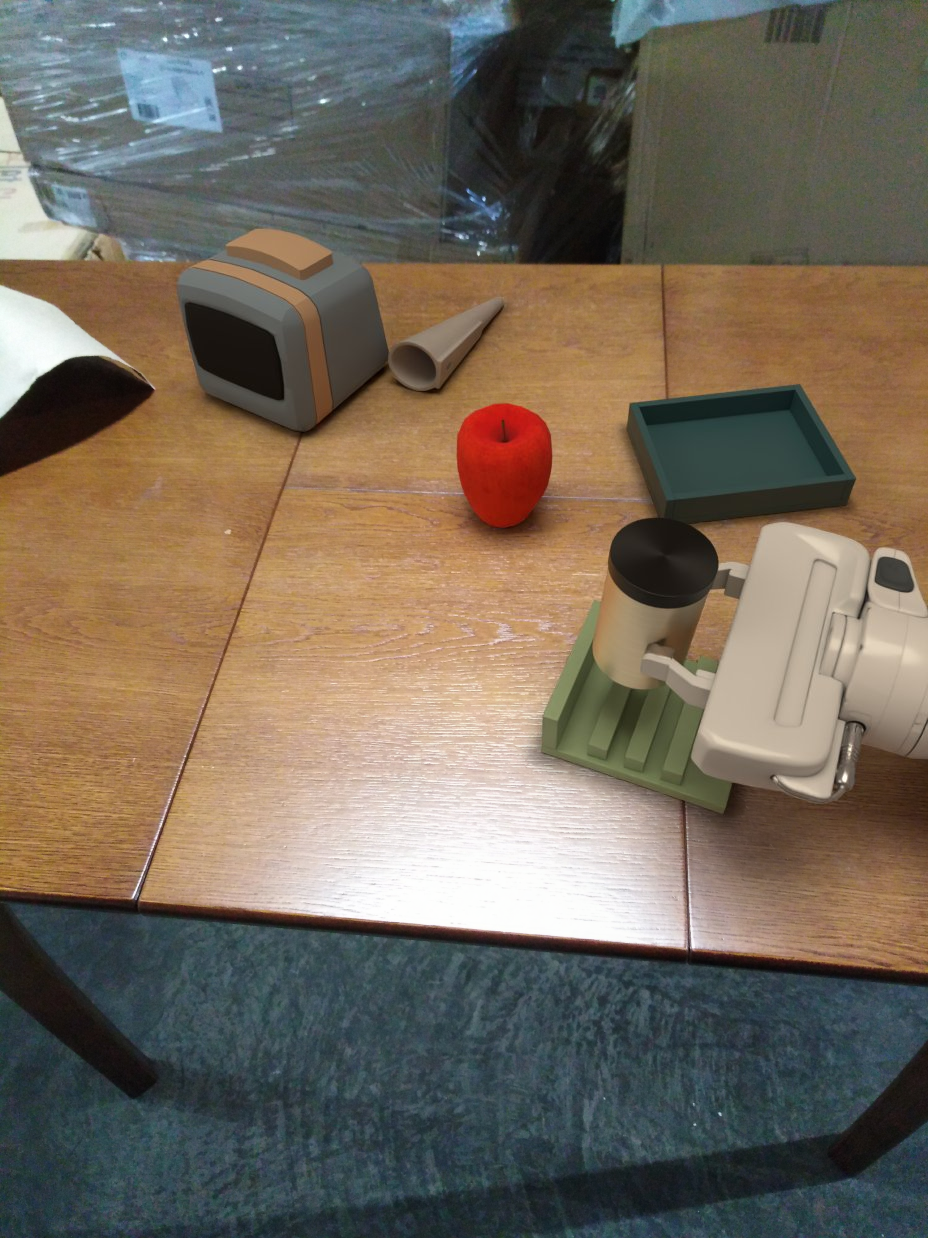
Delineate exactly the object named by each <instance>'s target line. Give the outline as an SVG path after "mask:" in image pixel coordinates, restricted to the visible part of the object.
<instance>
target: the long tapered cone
mask: <svg viewBox="0 0 928 1238" xmlns="http://www.w3.org/2000/svg"><path fill="white" fill-rule="evenodd" d="M504 303H505V301H504V298H503V297H501V296H496V297H493V298H490V299H488V300H486V301H484V302H482V303H480V304H477V305H476V306H473V307H471V308H469V309H467V310H466V309H465V310H464V311H462V312H460V313H458V314H456V315H453V316H452V317H450V318H447V319H445V320H443V321H441V322H439V323H437V324H435V325H433V326H430V327H429V328H426V329H424V330H422V331H419V332H418V333H415V334H413V335H411V336H409V337H406V338H405V339H403V340H401V341H399V342H396V343H395V344H393V345H392V346H391V347H390V349H389V353H388V361H387V364H388V368H389V370H390V372H391V374H392V376H393V378H395V379H396V380H397V381H398V382H399V383H400V384H402V385H403V386H404V387H406V388H407V389H410V390H413V391H417V392H425V391H430V390H432V389H434V388H435V389H437V390H438V389H441V387H442V385H443V384H444V383H445V382H446V380H447V379H448V378H449V377H450V376H451V374H452V373H453V372H454V370H455V369H456V368H457V366H458V365H459V364H460V363H461V362H462V360H463V359H464V358H465V357H466V355H467V354H468V353H469V352H470V350H471V349H472V347H473V346H474V345H475V344H476V343H477V342H478V340H479V339H480V338H481V336H482V332H483V330H484V329H485V328H486V327H487V325H488V324H489V323H490V322H491V321H492V319H493V318H494V317H495V316H496V315H497V314H498V313H499V312H500V310H501V309H502V307H503V305H504Z"/></svg>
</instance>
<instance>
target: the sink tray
mask: <svg viewBox="0 0 928 1238" xmlns="http://www.w3.org/2000/svg"><path fill="white" fill-rule="evenodd" d="M627 414H628V415H627V423H626V431H627V434H628V436H629V439H630V442H631V445H632V447H633V450H634V453H635V455H636V459H637V461H638V464H639V467H640V469H641V472H642V475H643V478H644V480H645V482H646V486H647V488H648V491H649V493H650V496H651V499H652V502H653V504H654V507H655V510H656V513H657V515H658V518H668V519H673V520H677V521H681V522H684V523H686V524H688V525H689V524H694V523H695V524H696V523H703V522H712V521H721V520H729V519H731V520H732V519H737V518H747V517H748V518H749V517H755V516H756V517H757V516H764V515H773V514H782V513H783V514H784V513H790V512H799V511H807V510H808V511H809V510H816V509H823V508H834V507H841V506H847V504H848V502H849V499H850V497H851V494H852V492H853V490H854V486H855V484H856V480H857V476H856V475H855V474H854V472H853V470H852V469H851V467H850V465H849V464H848V462H847V461H846V458H845V457H844V455H843V454H842V452H841V450H840V449H839V447H838V445H837V444H836V442H835V440H834V438H833V437H832V435H831V434H830V432H829V431H828V429H827V427H826V425H825V424H824V422H823V420H822V419H821V416H820V415H819V413H818V412H817V410H816V408H815V407H814V405H813V404H812V402H811V400H810V398H809V396H808V395H807V393H806V391H805V390H804V388H803V386H802V385H801V383H797V384H788V385H779V386H771V387H770V386H769V387H761V388H751V389H741V390H733V391H725V392H715V393H708V394H697V395H690V396H689V395H688V396H679V397H671V398H660V399H652V400H643V401H635V402H629V406H628V413H627Z"/></svg>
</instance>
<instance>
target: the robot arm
mask: <svg viewBox="0 0 928 1238" xmlns="http://www.w3.org/2000/svg"><path fill="white" fill-rule="evenodd" d="M712 590H724V591H723V595H724V596H727V597H730V598H733V599H737V605H736V608H735V611H734V614H733V617H732V621H731V624H730V627H729V630H728V633H727V637H726V639H725V643H724V646H723V649H722V653H721V655H720V659H719V663H718V666H717V671H716V674H715V673H711V672H708V671H704V670H701V669H698V670H697V672H696V675H693V674H692V673H691V672H690V671H688V670H687V669H686V668H685V667H683V666H682V665H681V664H679V663H678V662H677V661H676V660H674V659H673V655H674V650H675V649H674V648H671V647H667V646H660V645H659V644H657V643H650V644H648V645H647V648H646V650H645V653H644V656H643V658H642V661H641V666H640V672H641V673H642V674H644V675H646V676H649V677H653V678H656V679H659V680H662V681H665V682H666V684H667V685H668V686H669V687H670V688H671V689H672V690H673V691H674V692H675V693H676V694H677V695H678V696H679V697H680V698H681V699H683V700H684V701H685V702H686V703H687V704H689V705H692V706H696V707H699V708H702V709H705V710H704V713H703V716H702V719H701V723H700V726H699V729H698V732H697V735H696V739H695V742H694V745H693V749H692V753H691V759H692V760H693V762H694V763H695V764H696V765H697V766H698V768H699V769H700V770H701V771H702V772H703V773H704V774H706V775H709V776H712V777H715V778H718V779H722V780H726V781H730V782H733V783H734V784H739V785H744V786H747V787H752V788H758V789H764V790H770V791H776V792H783V793H785V794H786V795H788V796H791V797H793V798H797V799H800V800H803V801H805V802H808V803H812V804H816V805H825V804H828V803H832V802H834V801H835V802H836V801H837V800H838V799H840V798H841V797H842V796H843V795H844V794H845V793H848V792H850V791H851V790H852V789H853V787H854V785H855V782H856V778H857V769H856V766H857V761H858V758H859V755H860V754H861V753H860V752H861V748H862V745H865V746H868V747H871V748H875V749H878V750H880V751H881V750H882V751H885V752H888V753H891V754H895V755H898V756H901V757H904V758H908V759H915V760H928V605H927V604H926V602H925V599H924V598H923V595H922V592H921V589H920V586H919V583H918V581H917V578H916V574H915V572H914V568H913V564H912V561H911V559H910V557H909V555H908V554H907V553H906V552H904V551H903V550H901V549H896V548H893V547H887V546H882V547H878V548H876V550H875V551H874V553H873V555H872V557H871V555H870V553H869V551H868V549H867V548H866V546H864V545H863V544H861V543H860V542H859V541H856V540H855V539H852V538H850V537H847V536H845V535H841V534H838V533H834V532H831V531H828V530H823V529H821V528H816V527H812V526H808V525H804V524H800V523H799V524H798V523H794V522H787V521H777V522H773V523H769V524H766V525H763V526H762V527H761V529H760V532H759V534H758V537H757V541H756V544H755V547H754V550H753V554H752V556H751V559H750V563H749V564H745V563H741V562H738V561H735V560H734V561H733V560H731V561H725V562H719V567H718V572H717V575H716V578H715V581H714V583H713V586H712V588H711V590H710V591H712ZM834 788H835V789H836V790H835V791H834V792H833V789H834Z"/></svg>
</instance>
